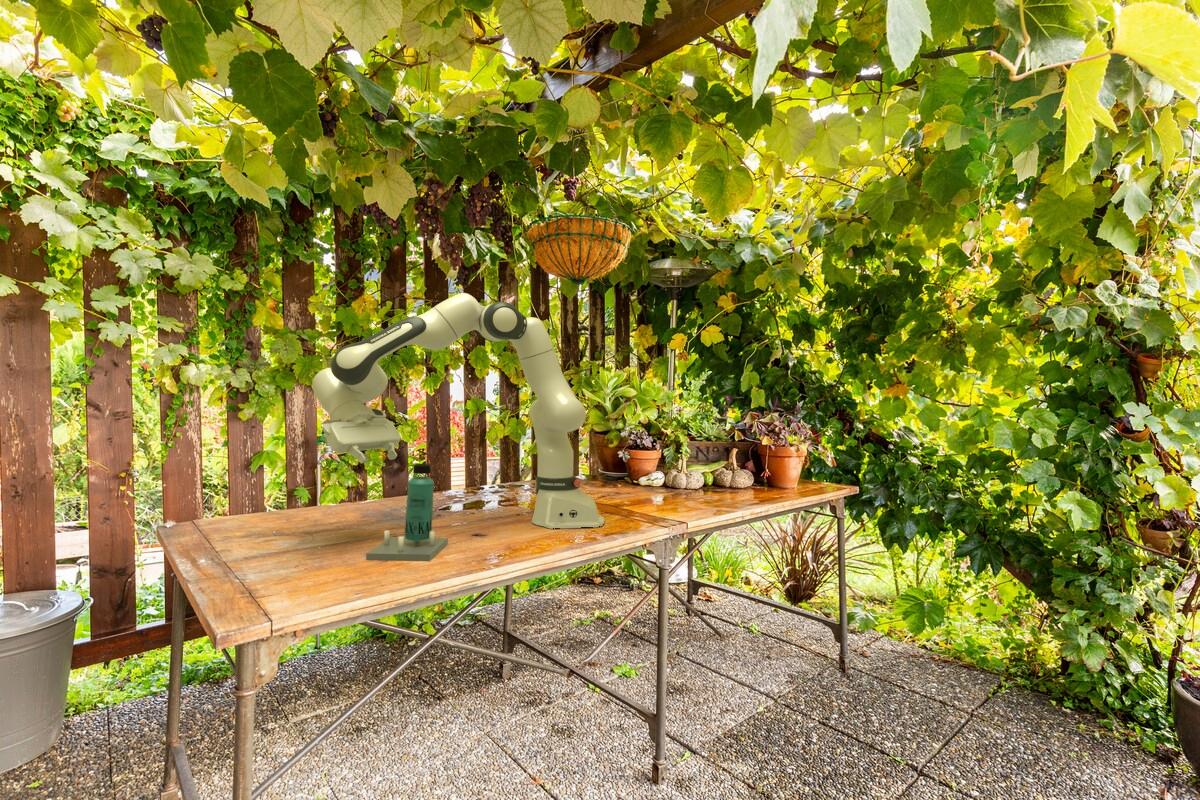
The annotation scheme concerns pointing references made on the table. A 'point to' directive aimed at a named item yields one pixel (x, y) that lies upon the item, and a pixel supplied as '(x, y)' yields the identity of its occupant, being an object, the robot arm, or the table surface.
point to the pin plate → (407, 548)
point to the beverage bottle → (419, 505)
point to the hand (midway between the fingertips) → (379, 459)
